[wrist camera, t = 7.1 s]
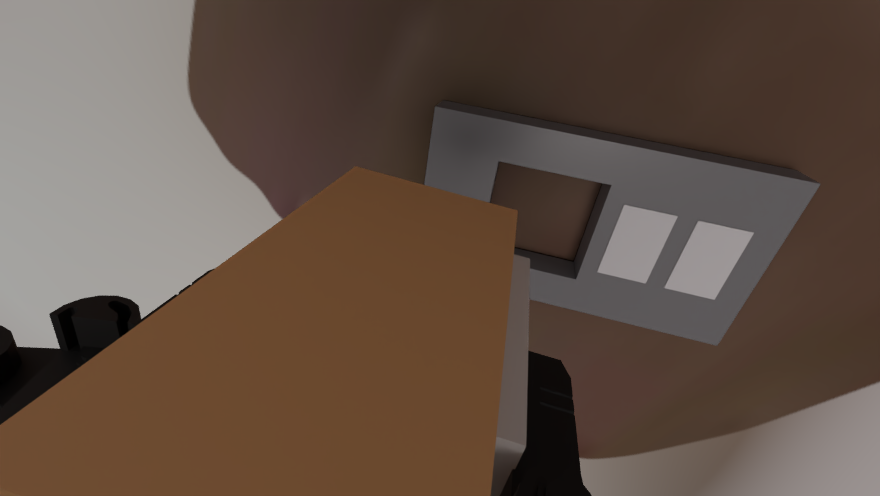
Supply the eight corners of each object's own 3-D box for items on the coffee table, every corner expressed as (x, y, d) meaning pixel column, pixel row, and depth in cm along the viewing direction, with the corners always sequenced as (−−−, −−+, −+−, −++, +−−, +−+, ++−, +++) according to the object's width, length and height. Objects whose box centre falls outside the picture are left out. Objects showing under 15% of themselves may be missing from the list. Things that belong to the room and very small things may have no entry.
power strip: (443, 100, 28) (434, 106, 25) (796, 170, 25) (821, 184, 23) (420, 254, 34) (411, 270, 31) (704, 323, 31) (717, 346, 29)
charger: (355, 166, 13) (-94, 492, 4) (517, 210, 12) (470, 702, 3) (340, 298, 15) (49, 692, 6) (475, 339, 15) (380, 826, 6)
